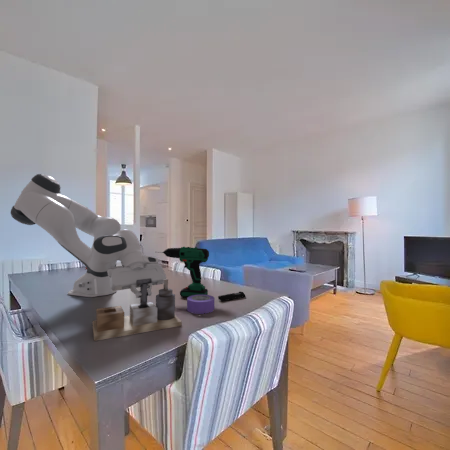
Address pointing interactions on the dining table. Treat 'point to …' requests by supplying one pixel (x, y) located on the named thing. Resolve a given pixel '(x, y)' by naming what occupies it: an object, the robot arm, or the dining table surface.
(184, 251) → the power drill
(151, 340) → the dining table surface
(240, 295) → the electric trimmer
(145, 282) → the chuck key
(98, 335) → the stand
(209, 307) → the tape roll
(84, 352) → the dining table surface
